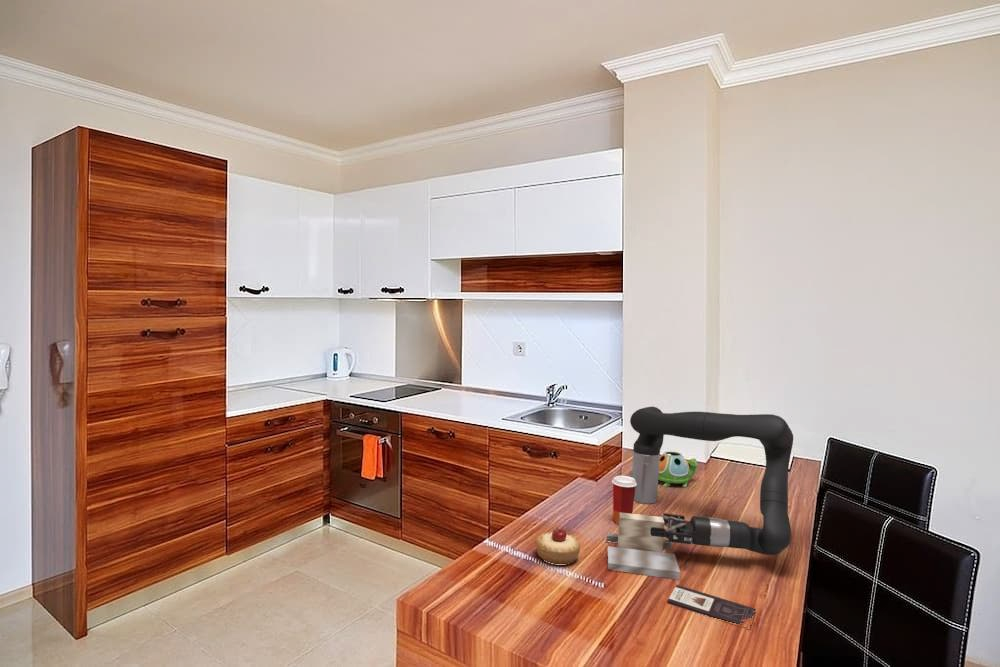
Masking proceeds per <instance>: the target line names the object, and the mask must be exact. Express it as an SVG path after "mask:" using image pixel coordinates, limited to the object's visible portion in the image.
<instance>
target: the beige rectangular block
mask: <svg viewBox="0 0 1000 667" xmlns="http://www.w3.org/2000/svg"><path fill="white" fill-rule="evenodd" d="M649 515H650V514H649ZM649 515H647V514H638V513H637V514H636V513H632V514H630V513H621V512H620V514H619V524H618V533H617V534H618V544H617V547H618V548H626V549H635V550H643V551H652V552H660V553H664V552H663V551H664V549H663V539H665V537H657V536H651V534H650V531H651V527H656V528H665V526H664V523H665V522H664V519H663V517H662V516H661V517H658V516H659V515H653V516H649Z"/></svg>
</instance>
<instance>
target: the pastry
mask: <svg viewBox="0 0 1000 667" xmlns="http://www.w3.org/2000/svg"><path fill="white" fill-rule="evenodd" d="M535 548H536V553H537V554H538V556H539V558H540V557H541V558H542V559H543V560H545V561H547V562H550V563H554V564H568V563H571V564H572V562H573V563H574V562H575V561H576V559H577V558H578V557H579V555H580V550H581V543H580V541H579V540H578V539H577V537H576V536H575V535H574V536H572V534H567V532H566V530H565V529H562V528H559V527H555V528H553V529H552V530H550V531H547V532H545V533H544V532H542V533H541V534H540V535H538V536H537V537H536V540H535ZM541 558H540V559H541ZM542 559H541V560H542ZM543 560H542V561H543Z"/></svg>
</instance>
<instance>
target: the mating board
mask: <svg viewBox="0 0 1000 667" xmlns="http://www.w3.org/2000/svg"><path fill="white" fill-rule="evenodd" d="M607 541H611V542H617V543H618V533H613V532H607V533H606V542H607ZM663 550H669V551H671V550H672V542H669V541H668V539H666V538H664V539H663ZM606 554H607V555H606V557H607V556H608V559H607V570H608V569H611V570H618V571H624V572H630V573H629V574H631V573H636V574H635V575H639V574H643V575H642V576H647V575H648V576H647V577H656V578H663V579H664V578H665V579H672V580H673V579H674V580H679V581H680V579H681V578H680V577H681V571H680V567H679V565H678V564H679V563H678V560H677V557H676V554H675V553H668V552H663V553H660V552H652V551H643V550H635V549H626V548H618V546H617V547H615V546H609V545H608V546H607V552H606Z"/></svg>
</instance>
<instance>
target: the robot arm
mask: <svg viewBox="0 0 1000 667" xmlns="http://www.w3.org/2000/svg"><path fill="white" fill-rule="evenodd" d="M629 422H630V426H631V427H632V429H633V430H634V431H635V432H636V433H637V434H639V435H638V438H637V439H636V440H635V442H634V443H633V450H632V468H631V470H630V471H629V475H628V477H632V478H634V479H635V480H636V483H637V485H636V488H635V497H634V502H637V503H639V504H640V503H641V504H647V505H648V504H649V505H650V504H655V503H657V501H658V489H659V480H658V476H659V460H660V456H661V449H662V447H663V444H664V438H665V437H664V436H673V437H677V438H678V437H679V438H683V439H689V440H690V439H692V440H697V441H704V442H705V441H706V442H718V441H724V440H726V439H730V438H734V437H737V438H738V437H742V438H750V439H755V440H759V442H760V443H761V444H762V446H763V450H764V454H765V456H764V457H765V469H764V473H763V477H762V480H761V483H760V492H759V511H760V514H761V515H762V518H763V524H762V527H761V528H759V527H753V526H750V525H749V524H748V523H747V522H743V521H738V520H737V521H736V520H727V519H723V518H716V517H709V516H700V515H699V516H698V515H692V516H691V518H690V520H685V517H686V516H685V515H682V514H674V513H666V512H664V513H662V515H657V516H658V517H663V519H664V522H665V523H664V528H656V527H651V531H650V534H651V536H657V537H664V539H665V540H668V541H669V542H671V543H673V544H675V543H676V544H686V545H691V544H692V545H696V546H706V547H714V548H731V549H741V550H747V551H750V552H754V553H757V554H762V555H766V556H767V555H769V556H774V555H779V554H781V553H782V552H784V550H785V549H787V548H788V547H789V545H790V544H791V541H792V528H791V522H790V517H789V513H788V510H789V489H788V487H789V479H788V478H789V468H790V460H791V455H792V449H793V445H794V444H793V443H794V434H793V432H792V429H791V428H790V425H788V423H787V421H786V420H785V419H784V418H782V417H781V416H779V415H776V414H768V413H767V414H765V413H764V414H763V413H762V414H733V413H720V412H719V413H718V412H709V411H707V412H706V411H682V412H681V411H680V412H671V413H668V412H667V413H665V412H663V411H662V410H661V409H660V408H658V407H656V406H648V407H646V406H645V407H643V408H639V409H637V410H635V411H634V412H633V413H632V414H631V415H630V420H629ZM649 516H654V515H653V514H649ZM665 527H666V528H665Z"/></svg>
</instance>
